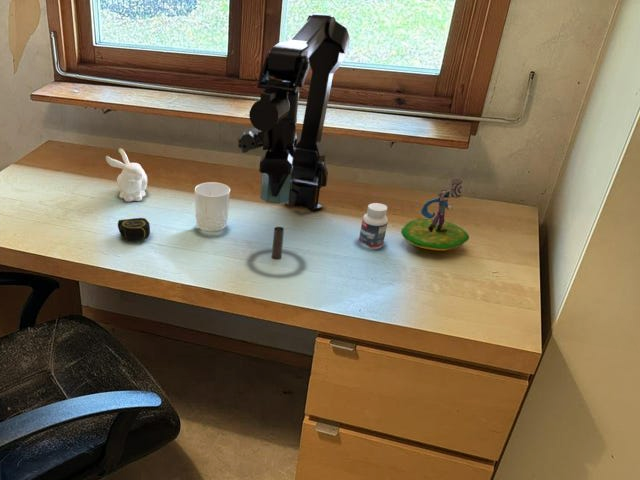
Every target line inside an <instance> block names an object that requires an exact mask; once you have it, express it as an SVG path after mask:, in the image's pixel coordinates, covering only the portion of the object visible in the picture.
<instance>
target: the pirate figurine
mask: <svg viewBox="0 0 640 480" xmlns="http://www.w3.org/2000/svg"><path fill="white" fill-rule="evenodd" d="M463 183H464V181H463V179H460V178H455V179H452V180H451V189H449V190H446V189H442V190H440V193H438V194H437V196H438V198H433V199H430V200H429V201H427V202H425V204H424V205H423V206H422V208H421V215H422V216H423V217H424V218H416V219H414V220H411V221H409V222H407V223H406V224H405V225H404V226H403V227H402V228H401V231H400V233H401V235H402V237H403V238H404V240H405V241H406V242H407V243H409V244H411V245H413V246H415V247H418V248H420V249H426V250H432V251H449V250H452V249H454V248H457V247H460V246H463V245H464V244H465V243H466V242H467V241H469V239H470V235H469V233H468V232H467V231H466V230H464V229H463V228H462V227H460V226H458V225H457V224H455V223H452V222H449V221H445V216H446V215H445V213H446V210H450V209H451V210H453V208H452V206H453V204H450V205H449V203H448V201H449V200H448V198H450V199H451V198H455V199H456V198H461V197H462V196H463V194H462V188H463ZM450 192H451V193H450ZM434 203H438V211H437V214H436V213H435V212H433V213H430V212H429V211H428V207H429V206H430V205H431V204H434Z"/></svg>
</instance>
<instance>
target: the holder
mask: <svg viewBox="0 0 640 480" xmlns="http://www.w3.org/2000/svg"><path fill="white" fill-rule="evenodd" d="M284 234H285V228H284V227H282V226H275V227H274V228H273V235H272V236H273V237H272V249H271V259H272V260H275V261H276V260H281V259H282V256H283V255H282V254H283V245H284Z"/></svg>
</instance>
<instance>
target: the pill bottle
mask: <svg viewBox="0 0 640 480" xmlns="http://www.w3.org/2000/svg"><path fill="white" fill-rule="evenodd" d="M387 213H388V206H387V205H386V204H383V203H379V202H372V203H369V204H368V205H367V210H366V213H365V214H364V215H363V216H362V220H361V226H360V230H359V236H358V241H359V242H361V244H364V245H365V246H368V247H369V248H371V249H372V250H378V249H381V248H382V247H383V245H384V242H385V238H386V233H387V228H388V223H389V218H388V216H387Z"/></svg>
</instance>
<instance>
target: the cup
mask: <svg viewBox="0 0 640 480" xmlns="http://www.w3.org/2000/svg"><path fill="white" fill-rule="evenodd" d="M292 174H293V166H292V171H291V174H289V176H288V177H287V179H286V181H285V183H284V185H283V186H282V188H281V190H280V192H279V194H278V196H277V197H274V196H272V193H271V187H270V181H269V176H268V174H267V173H261V183H260V197H259V198H260V199H261V200H262V201H264V202H265V203H267V204H275V205H280V204H283V203H286V202H288V201H289V199H290V195H291V185H292Z"/></svg>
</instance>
